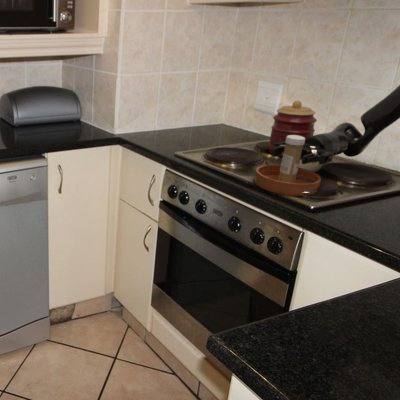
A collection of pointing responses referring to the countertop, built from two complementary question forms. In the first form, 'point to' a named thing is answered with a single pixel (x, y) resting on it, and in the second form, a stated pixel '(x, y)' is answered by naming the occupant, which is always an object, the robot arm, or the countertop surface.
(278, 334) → the countertop surface
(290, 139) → the sprinkles bottle
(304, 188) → the terracotta round dish
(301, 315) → the countertop surface
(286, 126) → the kitchen canister
